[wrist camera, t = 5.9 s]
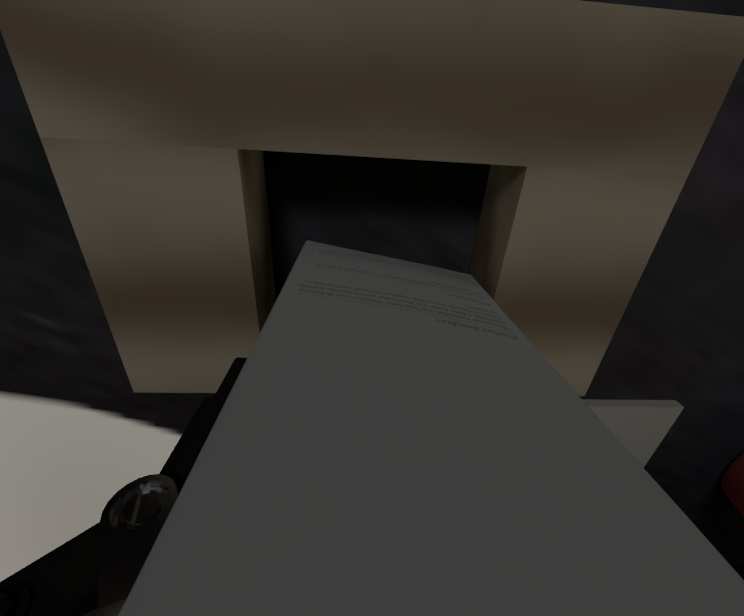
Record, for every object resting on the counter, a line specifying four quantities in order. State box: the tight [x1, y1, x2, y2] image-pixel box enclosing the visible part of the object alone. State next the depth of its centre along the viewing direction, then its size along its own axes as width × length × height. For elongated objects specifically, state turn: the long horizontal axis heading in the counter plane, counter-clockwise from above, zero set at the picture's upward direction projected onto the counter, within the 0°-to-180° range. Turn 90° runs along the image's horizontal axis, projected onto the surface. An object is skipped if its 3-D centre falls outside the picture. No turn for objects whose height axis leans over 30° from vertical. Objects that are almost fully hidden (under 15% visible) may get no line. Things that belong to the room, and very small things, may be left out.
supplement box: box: [118, 241, 744, 616], centre depth 9 cm, size 7×7×13 cm
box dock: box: [0, 0, 744, 396], centre depth 12 cm, size 14×20×3 cm
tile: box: [582, 399, 684, 468], centre depth 22 cm, size 14×14×1 cm
